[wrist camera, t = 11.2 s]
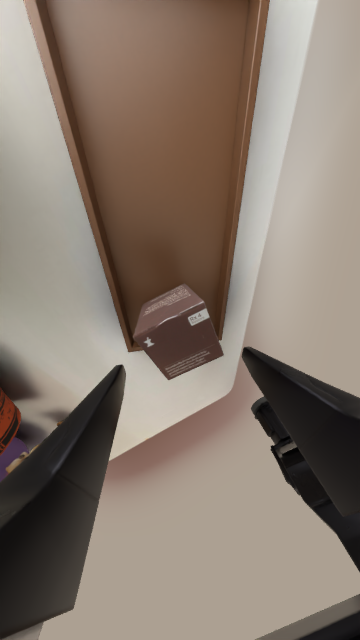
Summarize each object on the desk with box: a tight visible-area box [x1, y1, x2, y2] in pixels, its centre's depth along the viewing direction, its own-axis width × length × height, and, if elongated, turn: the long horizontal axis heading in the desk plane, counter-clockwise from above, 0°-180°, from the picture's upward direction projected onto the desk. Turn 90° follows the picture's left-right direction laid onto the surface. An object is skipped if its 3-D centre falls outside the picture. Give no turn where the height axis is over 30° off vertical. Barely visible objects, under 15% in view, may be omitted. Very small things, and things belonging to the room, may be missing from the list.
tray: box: [23, 0, 270, 352], centre depth 12 cm, size 13×27×2 cm, turn 2°
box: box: [133, 283, 224, 380], centre depth 14 cm, size 6×6×7 cm
